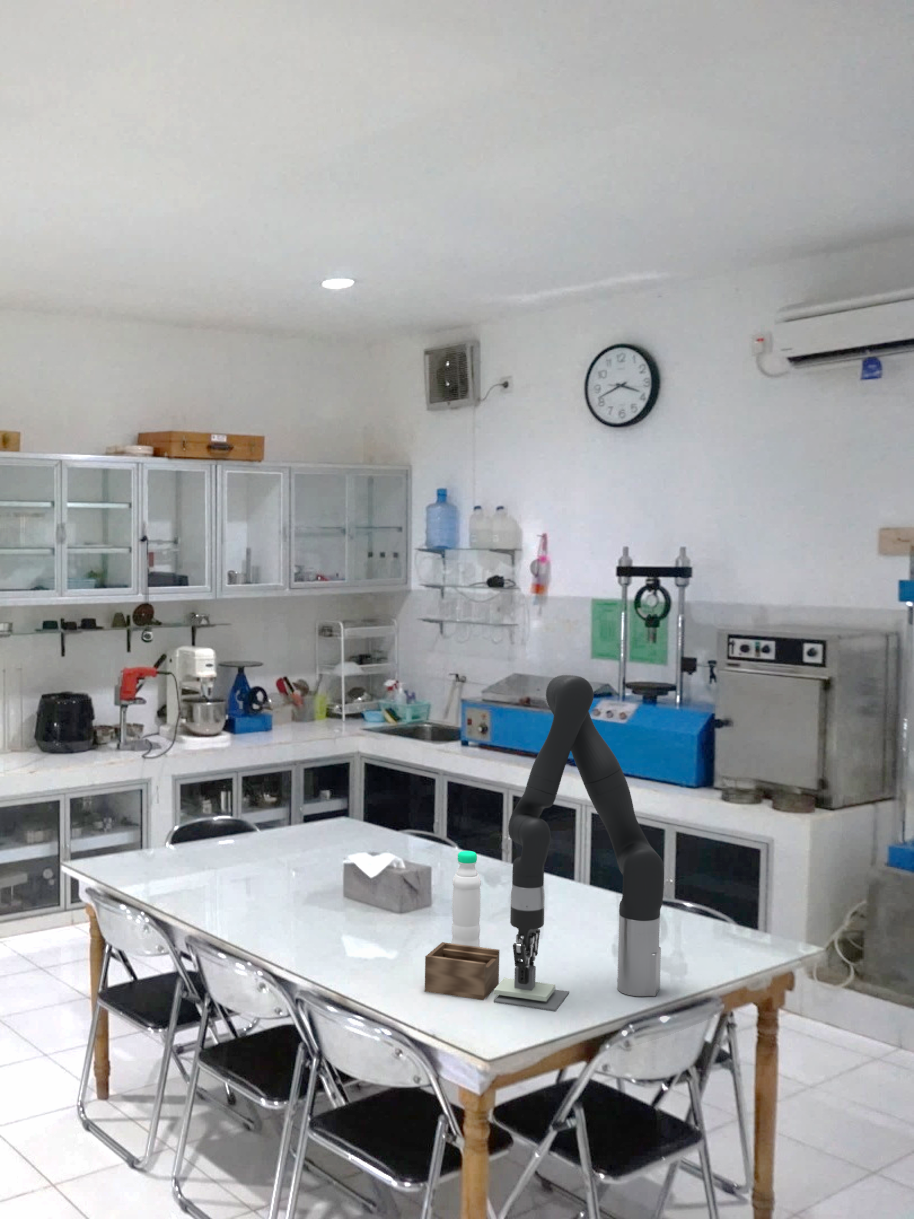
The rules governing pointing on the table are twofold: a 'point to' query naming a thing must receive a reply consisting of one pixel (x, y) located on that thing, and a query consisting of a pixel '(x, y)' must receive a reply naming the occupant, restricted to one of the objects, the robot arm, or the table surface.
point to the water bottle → (466, 901)
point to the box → (462, 970)
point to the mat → (535, 1001)
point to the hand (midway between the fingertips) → (525, 980)
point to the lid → (525, 987)
